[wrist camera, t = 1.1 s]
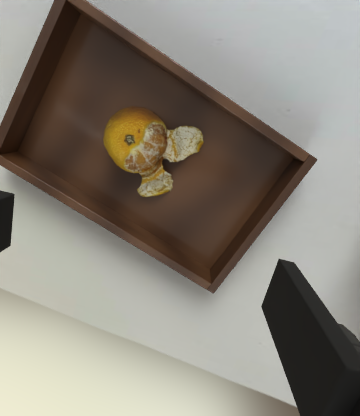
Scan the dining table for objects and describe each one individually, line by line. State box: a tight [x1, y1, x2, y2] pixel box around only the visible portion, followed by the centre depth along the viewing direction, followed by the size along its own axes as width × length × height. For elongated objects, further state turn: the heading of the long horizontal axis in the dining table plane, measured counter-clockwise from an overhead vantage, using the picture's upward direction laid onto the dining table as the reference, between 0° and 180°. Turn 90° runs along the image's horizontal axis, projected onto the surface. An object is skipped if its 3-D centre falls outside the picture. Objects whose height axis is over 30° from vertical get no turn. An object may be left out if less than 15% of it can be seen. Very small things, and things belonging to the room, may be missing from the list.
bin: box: [0, 0, 317, 293], centre depth 27 cm, size 25×16×3 cm, turn 57°
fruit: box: [103, 106, 203, 197], centre depth 26 cm, size 8×8×4 cm
